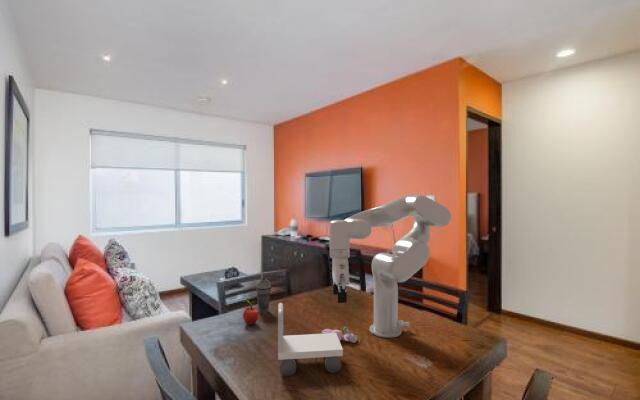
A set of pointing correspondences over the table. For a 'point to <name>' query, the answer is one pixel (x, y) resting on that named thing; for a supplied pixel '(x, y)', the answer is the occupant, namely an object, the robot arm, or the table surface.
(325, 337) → the trolley
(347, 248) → the robot arm
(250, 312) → the apple
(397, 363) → the table surface
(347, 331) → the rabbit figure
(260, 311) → the beverage cup
